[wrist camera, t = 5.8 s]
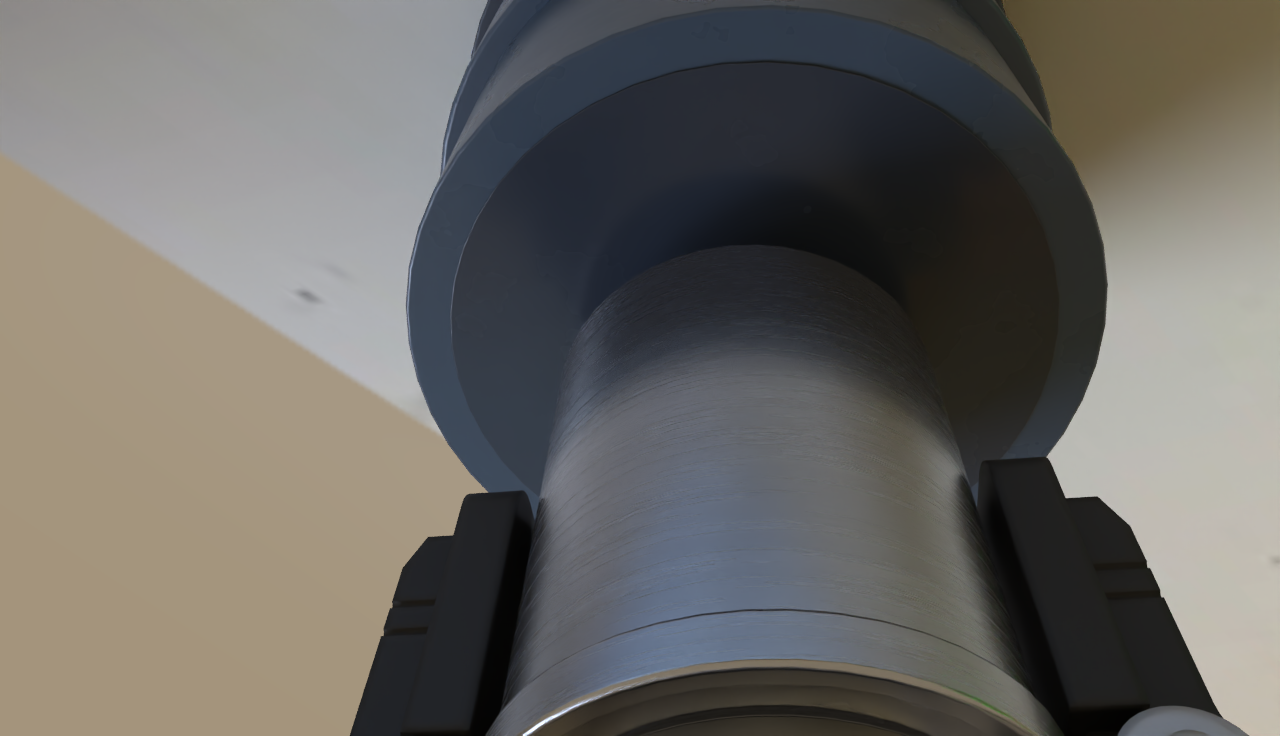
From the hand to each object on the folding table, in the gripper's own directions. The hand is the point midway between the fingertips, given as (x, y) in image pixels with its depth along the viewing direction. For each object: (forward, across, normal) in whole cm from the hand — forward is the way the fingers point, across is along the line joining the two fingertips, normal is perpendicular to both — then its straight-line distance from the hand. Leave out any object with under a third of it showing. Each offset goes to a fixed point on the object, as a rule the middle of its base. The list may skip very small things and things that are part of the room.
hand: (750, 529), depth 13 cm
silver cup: (+3, 0, 0) cm, 3 cm away
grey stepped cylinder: (+14, 0, 0) cm, 14 cm away
